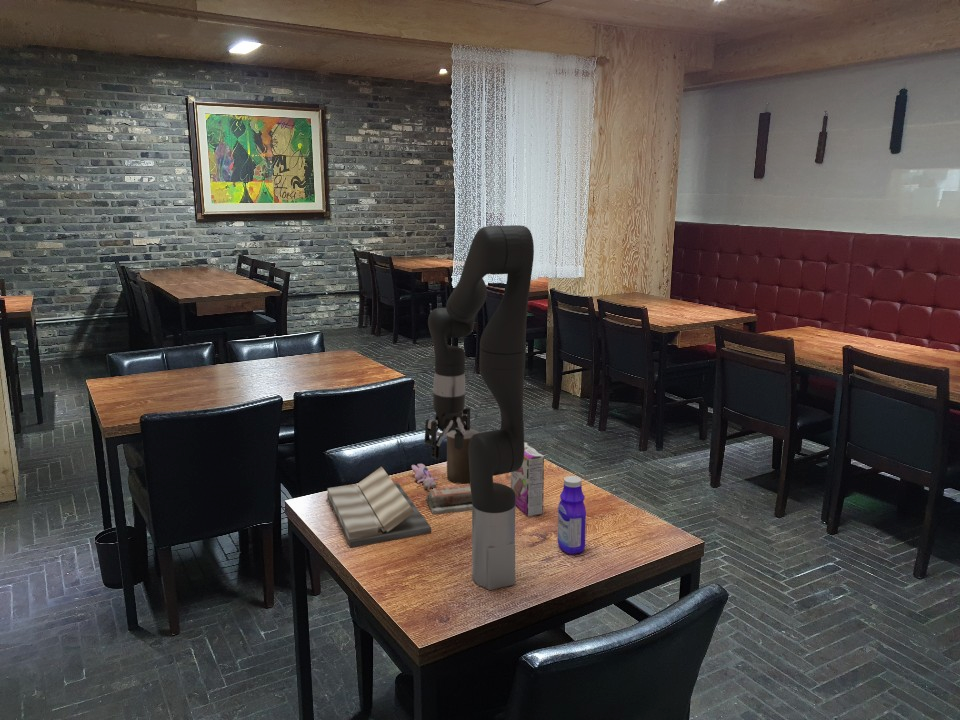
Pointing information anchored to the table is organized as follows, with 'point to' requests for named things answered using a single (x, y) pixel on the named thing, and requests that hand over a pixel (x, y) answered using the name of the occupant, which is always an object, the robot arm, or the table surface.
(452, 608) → the table surface
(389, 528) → the loose plank
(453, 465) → the pillar candle
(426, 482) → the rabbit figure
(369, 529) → the floor section
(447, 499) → the packaged product
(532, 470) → the candy bar box
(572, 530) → the bottle
